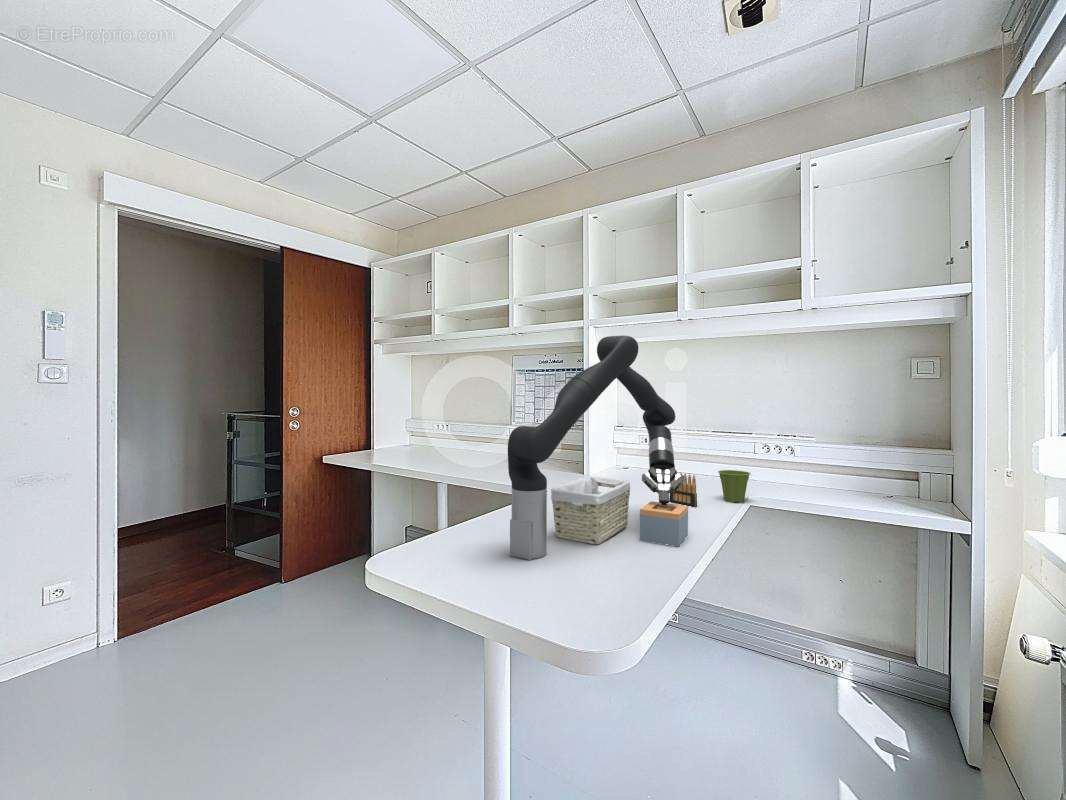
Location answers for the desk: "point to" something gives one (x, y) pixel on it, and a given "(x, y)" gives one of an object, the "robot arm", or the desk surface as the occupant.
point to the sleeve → (664, 524)
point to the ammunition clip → (685, 492)
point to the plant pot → (734, 484)
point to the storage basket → (590, 509)
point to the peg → (664, 508)
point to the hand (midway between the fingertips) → (664, 503)
